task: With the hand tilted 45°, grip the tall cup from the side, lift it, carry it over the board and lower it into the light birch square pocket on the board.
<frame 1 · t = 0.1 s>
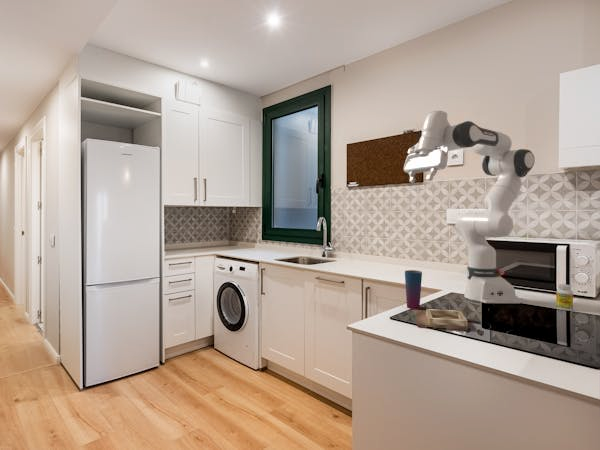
hand: (420, 181, 141), 52 cm above the cooktop, tool tilted 20°, fingers open, 8 cm apart
cup: (413, 307, 146), on the cooktop
supplement bottle: (564, 309, 142), on the cooktop
cup board: (438, 320, 128), on the cooktop
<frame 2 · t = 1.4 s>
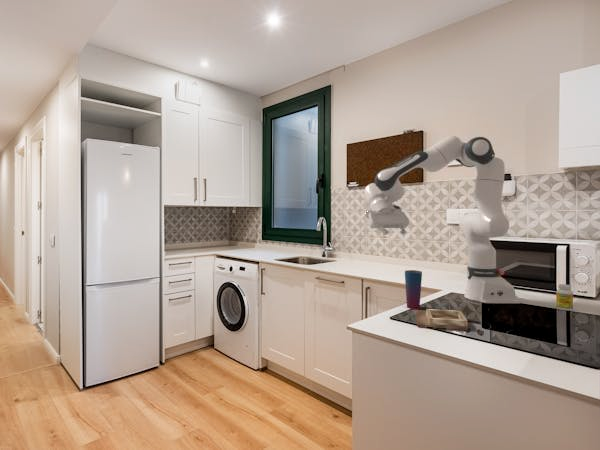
hand: (395, 233, 155), 30 cm above the cooktop, tool tilted 45°, fingers open, 8 cm apart
nothing on the cooktop moved.
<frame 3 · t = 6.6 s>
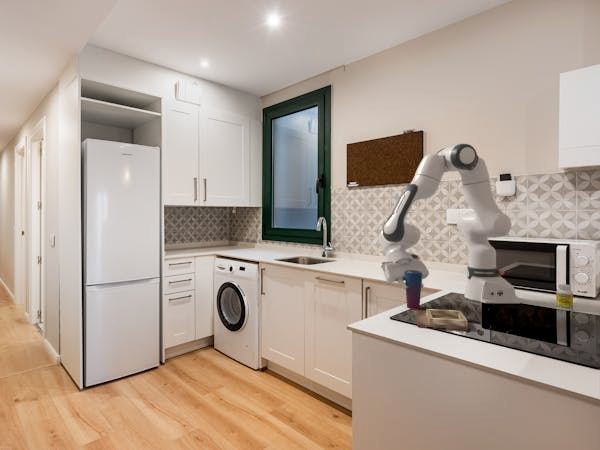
hand: (414, 287, 145), 8 cm above the cooktop, tool tilted 45°, fingers closed on cup, 6 cm apart
cup: (413, 307, 146), on the cooktop, touching gripper
everything else where it was.
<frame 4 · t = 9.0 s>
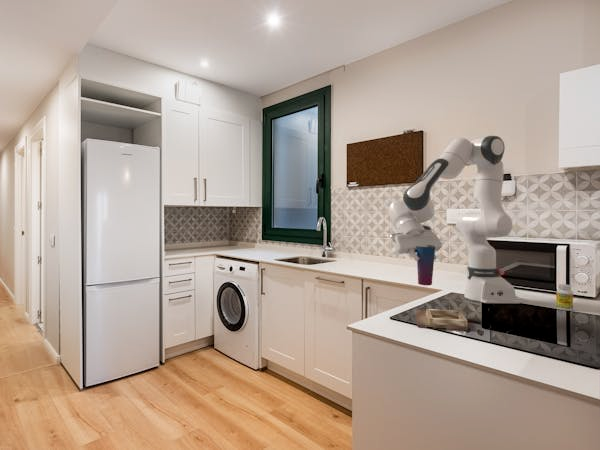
hand: (426, 259, 136), 21 cm above the cooktop, tool tilted 45°, fingers closed on cup, 6 cm apart
cup: (424, 284, 137), point 11 cm above the cooktop, touching gripper
everything else where it was.
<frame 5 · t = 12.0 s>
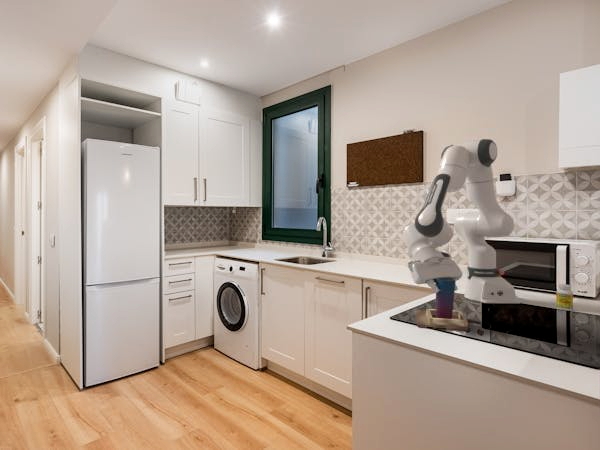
hand: (447, 291, 124), 12 cm above the cooktop, tool tilted 45°, fingers closed on cup, 6 cm apart
cup: (444, 319, 126), point 1 cm above the cooktop, touching cup board, gripper
everything else where it was.
when the fingers open (11 cm above the cooktop, at t = 13.2 s): cup stays where it is, resting on cup board.
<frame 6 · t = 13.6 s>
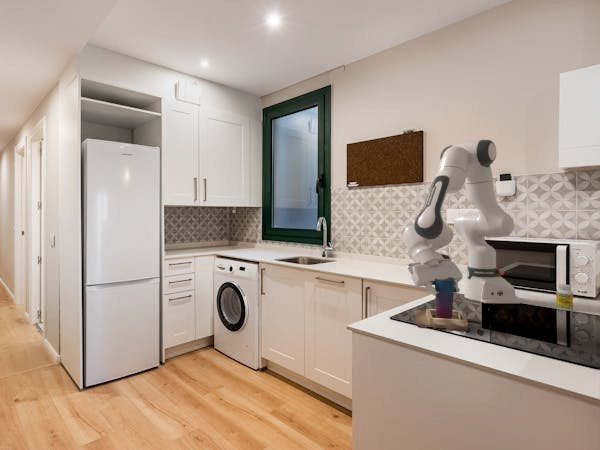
hand: (447, 293, 125), 11 cm above the cooktop, tool tilted 45°, fingers open, 8 cm apart
cup: (444, 320, 126), point 1 cm above the cooktop, touching cup board
everything else where it was.
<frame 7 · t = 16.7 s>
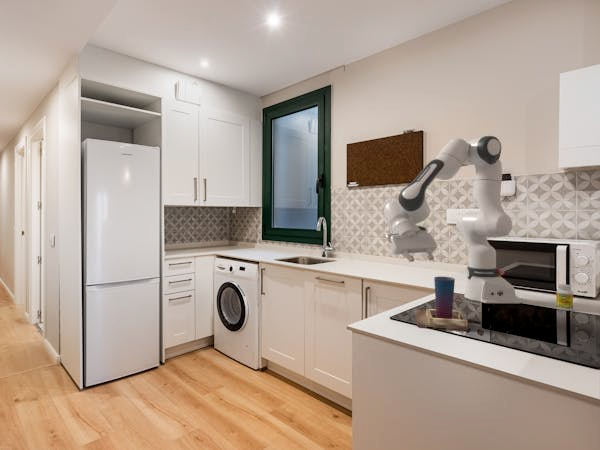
hand: (422, 260, 137), 21 cm above the cooktop, tool tilted 45°, fingers open, 8 cm apart
nothing on the cooktop moved.
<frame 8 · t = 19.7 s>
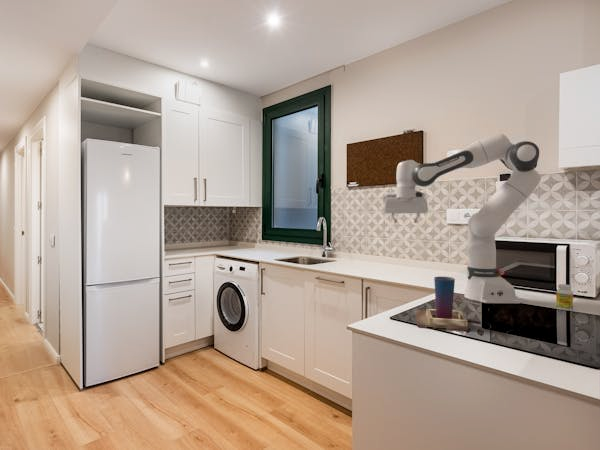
hand: (405, 222, 170), 34 cm above the cooktop, tool pointing down, fingers open, 8 cm apart
nothing on the cooktop moved.
at the end: cup 0.6 cm from the target spot on the cup board, point 0.8 cm above the cup board's base; cup tilted 0°; the gripper is holding nothing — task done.
